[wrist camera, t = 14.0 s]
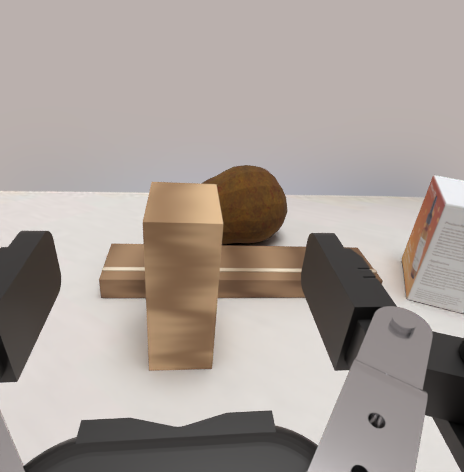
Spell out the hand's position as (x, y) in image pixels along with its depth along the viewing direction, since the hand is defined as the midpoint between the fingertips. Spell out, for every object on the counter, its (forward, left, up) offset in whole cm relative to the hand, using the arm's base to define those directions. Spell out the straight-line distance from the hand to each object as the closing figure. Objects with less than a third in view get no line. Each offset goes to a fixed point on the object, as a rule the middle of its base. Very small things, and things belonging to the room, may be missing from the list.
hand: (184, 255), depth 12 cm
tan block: (0, -14, -15) cm, 21 cm away
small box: (-26, -19, -16) cm, 35 cm away
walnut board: (-6, -20, -15) cm, 26 cm away
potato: (-6, -28, -16) cm, 33 cm away
